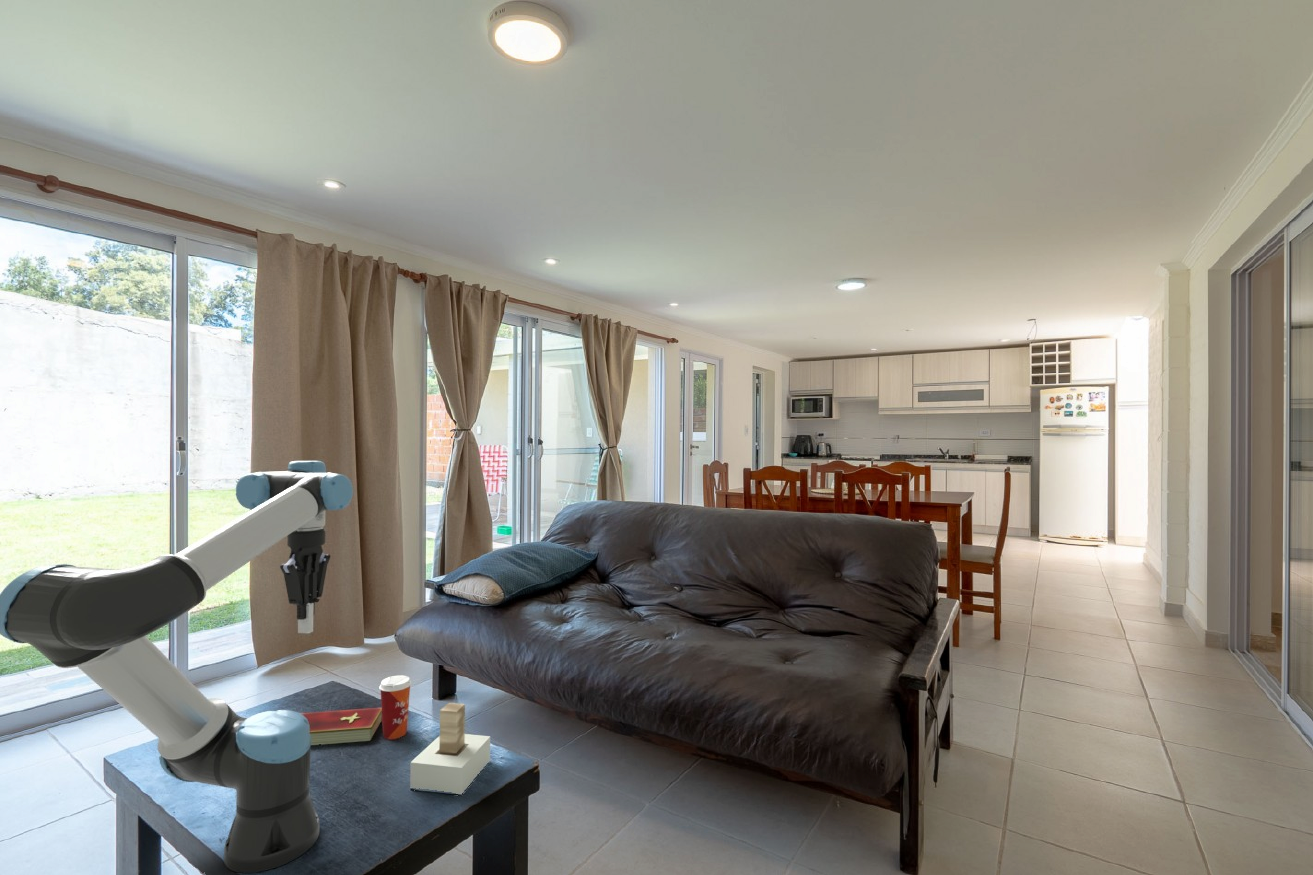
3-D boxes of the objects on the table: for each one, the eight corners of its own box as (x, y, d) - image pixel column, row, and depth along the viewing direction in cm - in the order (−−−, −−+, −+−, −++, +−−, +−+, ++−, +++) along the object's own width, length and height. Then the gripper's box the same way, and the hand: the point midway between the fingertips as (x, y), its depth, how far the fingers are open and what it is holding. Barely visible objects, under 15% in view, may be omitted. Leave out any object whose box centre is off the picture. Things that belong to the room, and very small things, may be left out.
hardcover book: (299, 727, 160) (299, 711, 160) (383, 721, 164) (383, 705, 164) (280, 750, 149) (280, 733, 149) (371, 742, 153) (371, 726, 153)
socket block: (461, 795, 130) (461, 767, 130) (410, 789, 132) (410, 762, 132) (490, 761, 143) (490, 736, 143) (443, 756, 145) (443, 731, 145)
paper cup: (403, 741, 152) (403, 686, 152) (373, 741, 152) (373, 685, 152) (416, 727, 160) (416, 674, 160) (387, 726, 160) (387, 673, 160)
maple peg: (455, 774, 135) (456, 711, 135) (439, 772, 136) (439, 710, 136) (464, 764, 139) (465, 703, 139) (448, 762, 140) (448, 702, 140)
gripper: (299, 533, 130) (298, 642, 130) (341, 525, 143) (340, 624, 143) (269, 532, 132) (268, 640, 131) (313, 524, 144) (311, 622, 144)
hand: (305, 632), depth 137 cm, fingers closed
